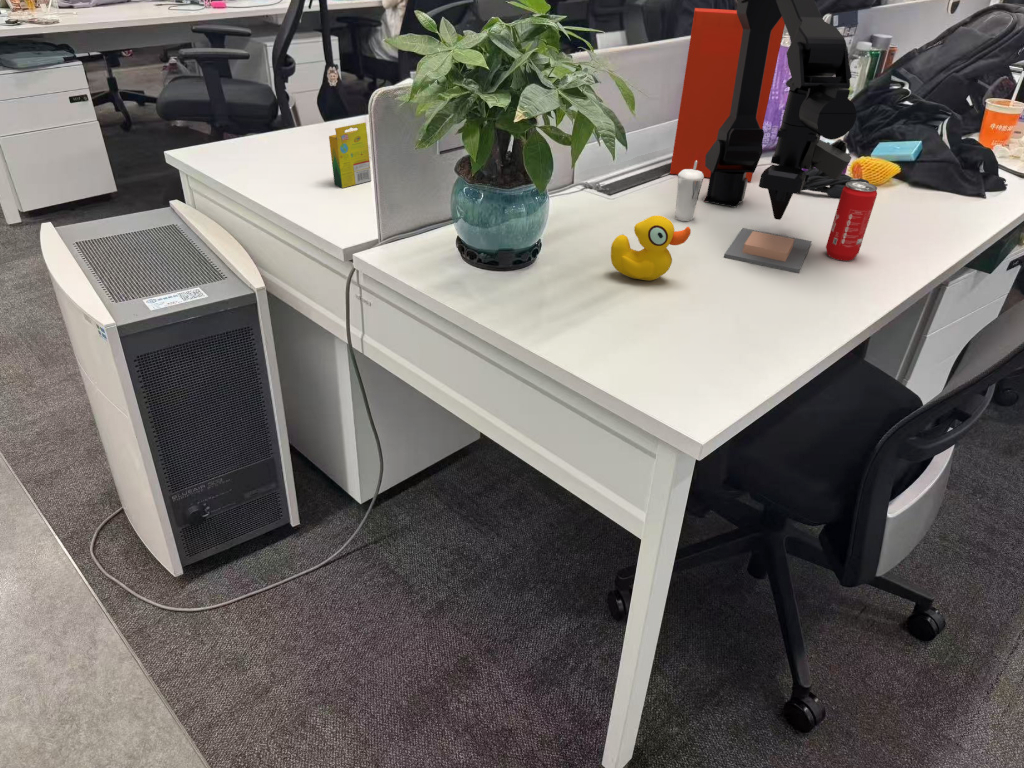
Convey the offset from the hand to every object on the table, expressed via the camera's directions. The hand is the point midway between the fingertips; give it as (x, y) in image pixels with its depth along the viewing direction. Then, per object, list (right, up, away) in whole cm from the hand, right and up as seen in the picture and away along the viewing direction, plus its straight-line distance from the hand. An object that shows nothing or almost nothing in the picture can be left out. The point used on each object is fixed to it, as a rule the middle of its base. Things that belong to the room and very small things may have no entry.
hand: (777, 218), depth 121 cm
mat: (-1, -5, +1) cm, 5 cm away
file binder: (-1, +19, +38) cm, 43 cm away
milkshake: (-13, +3, +14) cm, 19 cm away
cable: (+21, +13, +32) cm, 41 cm away
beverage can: (+11, -6, +1) cm, 13 cm away
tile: (0, -3, +2) cm, 4 cm away
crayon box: (-77, +13, +25) cm, 82 cm away
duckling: (-24, -12, -9) cm, 29 cm away
